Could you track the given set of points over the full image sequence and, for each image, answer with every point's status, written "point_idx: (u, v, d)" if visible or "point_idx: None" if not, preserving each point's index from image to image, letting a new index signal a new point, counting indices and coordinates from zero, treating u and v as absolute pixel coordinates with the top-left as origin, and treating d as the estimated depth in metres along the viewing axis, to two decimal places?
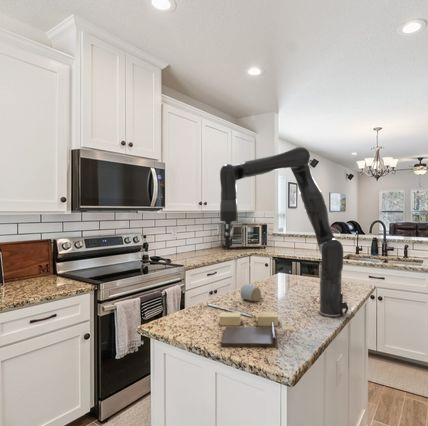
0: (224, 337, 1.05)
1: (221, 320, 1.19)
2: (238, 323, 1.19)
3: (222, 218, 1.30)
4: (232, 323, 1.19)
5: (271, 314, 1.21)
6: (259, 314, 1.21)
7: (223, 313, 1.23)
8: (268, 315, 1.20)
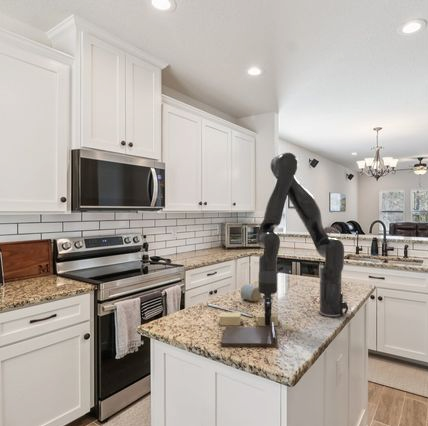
0: (224, 337, 1.05)
1: (221, 320, 1.19)
2: (238, 323, 1.19)
3: (261, 290, 1.18)
4: (232, 323, 1.19)
5: None
6: (259, 314, 1.21)
7: (223, 313, 1.23)
8: None
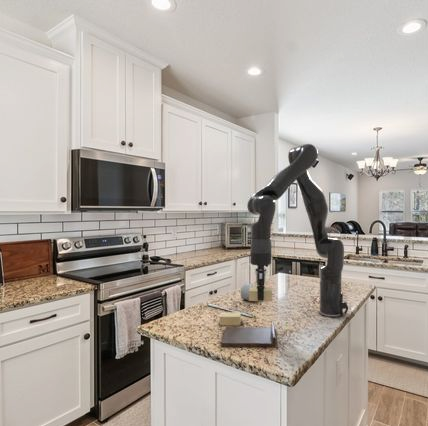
0: (224, 337, 1.05)
1: (221, 320, 1.19)
2: (238, 323, 1.19)
3: (253, 261, 1.06)
4: (232, 323, 1.19)
5: (264, 289, 1.09)
6: (251, 289, 1.09)
7: (223, 313, 1.23)
8: None
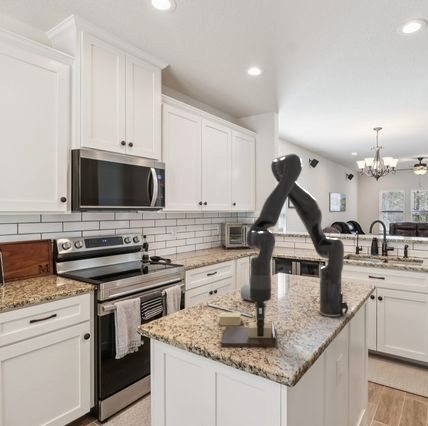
0: (224, 337, 1.05)
1: (221, 320, 1.19)
2: (238, 323, 1.19)
3: (253, 297, 1.04)
4: (232, 323, 1.19)
5: None
6: (250, 324, 1.07)
7: (223, 313, 1.23)
8: None
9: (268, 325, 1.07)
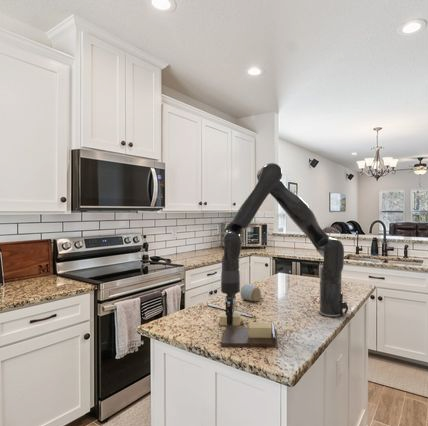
0: (224, 337, 1.05)
1: (221, 320, 1.19)
2: (238, 323, 1.19)
3: (223, 290, 1.19)
4: None
5: (264, 324, 1.07)
6: (250, 324, 1.07)
7: (223, 313, 1.23)
8: (260, 326, 1.06)
9: (268, 325, 1.07)
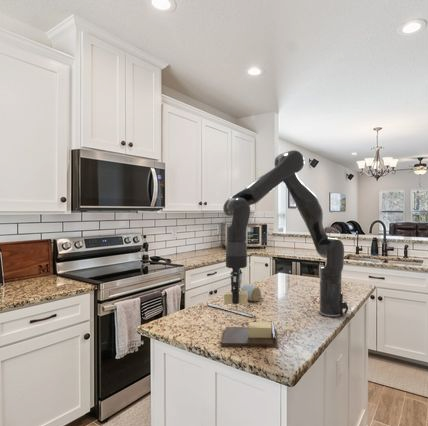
0: (224, 337, 1.05)
1: (226, 298, 1.05)
2: (245, 302, 1.05)
3: (228, 264, 1.05)
4: None
5: (264, 324, 1.07)
6: (250, 324, 1.07)
7: (228, 291, 1.09)
8: (260, 326, 1.06)
9: (268, 325, 1.07)
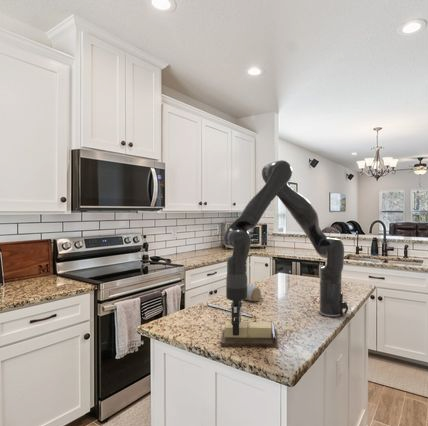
0: (224, 337, 1.05)
1: (226, 331, 1.05)
2: (246, 335, 1.05)
3: (229, 296, 1.04)
4: (238, 335, 1.05)
5: (264, 324, 1.07)
6: (250, 324, 1.07)
7: (228, 323, 1.08)
8: (260, 326, 1.06)
9: (268, 325, 1.07)
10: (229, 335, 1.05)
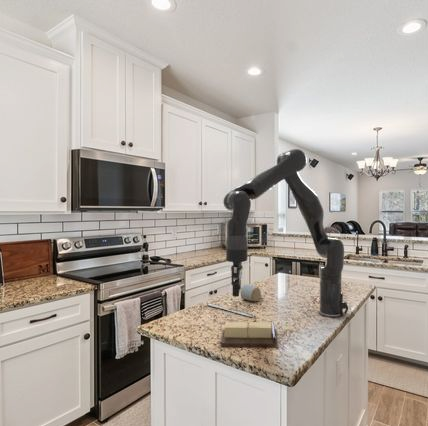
0: (224, 337, 1.05)
1: (226, 331, 1.05)
2: (246, 335, 1.05)
3: (229, 258, 1.04)
4: (238, 335, 1.05)
5: (264, 324, 1.07)
6: (250, 324, 1.07)
7: (228, 323, 1.08)
8: (260, 326, 1.06)
9: (268, 325, 1.07)
10: (229, 335, 1.05)
